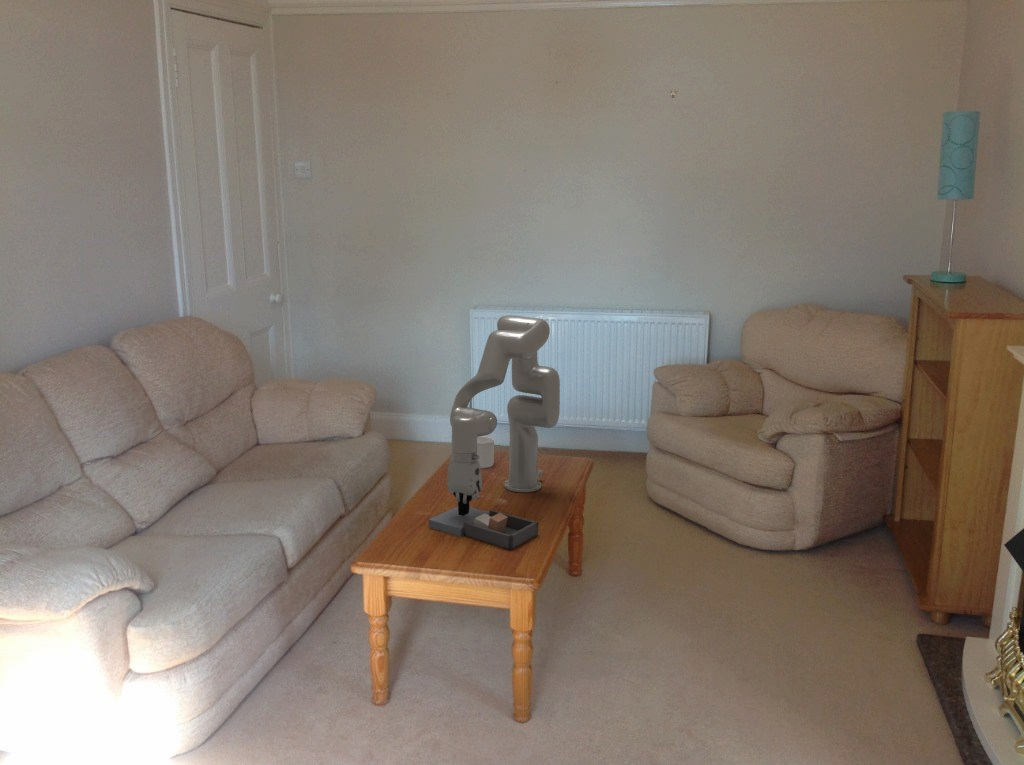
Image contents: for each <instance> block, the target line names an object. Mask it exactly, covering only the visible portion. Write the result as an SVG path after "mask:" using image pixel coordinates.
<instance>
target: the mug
mask: <svg viewBox="0 0 1024 765" xmlns="http://www.w3.org/2000/svg"><path fill="white" fill-rule="evenodd" d="M477 455H479V456H480V458H479V460H477V461H479V463H480V468H481V469H488V468H492V467H493V466H494V464H495V460H494V459H495V458H494V457H495V439H494V438H493V437H491V436H487V435H486V436H480V437H477Z"/></svg>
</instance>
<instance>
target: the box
mask: <svg viewBox="0 0 1024 765" xmlns="http://www.w3.org/2000/svg"><path fill="white" fill-rule="evenodd" d="M488 512H489V516H491V517H492V516H494V515H496V514H498V513H501V514H503V515H505V516H507V517H508V519H507V523H506V528H505V532H503V533H502V532H498V531H495V530H491V529H488V528H484V527H481V526H477V525H474V524H470V523H467V522H465V523H463V536H462V537H465V538H469V539H472V540H476V541H478V542H482V543H486V544H489V545H493V546H495V547H499V548H502V549H505V550H510V551H512V550H513V549H516V548H518V547H519V546H521V545H523V544H524V543H526V542H528V541H530V540H532V539H533V538H536V537H537V536H539V521H536V520H531V519H527V518H524V517H520V516H517V515H512V514H509V513H505V512H502V511H498V510H494V509H489V511H488Z"/></svg>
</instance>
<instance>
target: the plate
mask: <svg viewBox="0 0 1024 765" xmlns="http://www.w3.org/2000/svg"><path fill="white" fill-rule="evenodd" d="M484 513H485V514H487V515H489V511H487V510H482V509H478V508H475V507H472V506H469V513H468V514H466V515H464V516H462V515H459V514H458V505H457V506H455V507H453V508H450V509H449V510H446V511H444V512H441V513H440V514H437V515H436V516H433V517H430V518H429V519H428V528H429V529H433V530H436V531H441V532H443V533H447V534H450V535H453V536H456V537H464V536H463V523H465V522H467V523H470V524H474V520H475V518H476V517H478V516H480V515H482V514H484Z"/></svg>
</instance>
